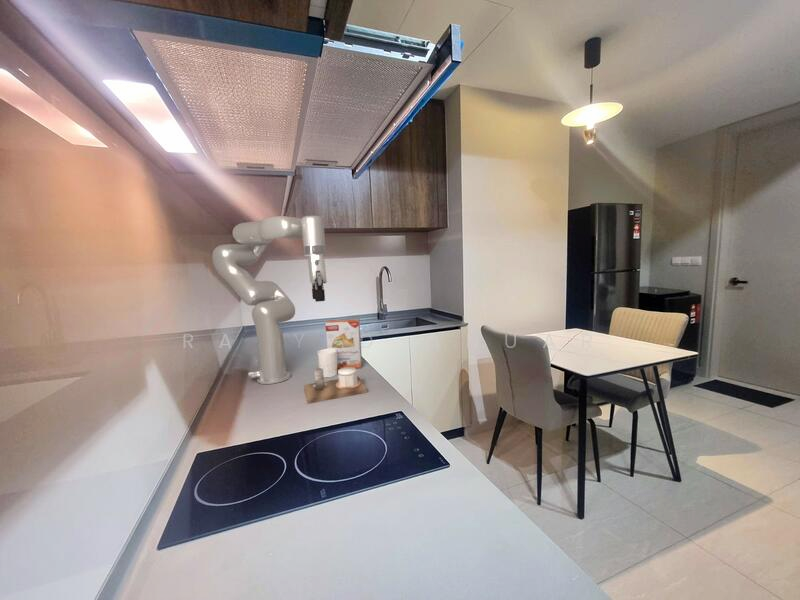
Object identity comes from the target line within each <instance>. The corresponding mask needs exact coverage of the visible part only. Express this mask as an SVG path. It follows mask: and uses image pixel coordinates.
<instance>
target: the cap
mask: <svg viewBox="0 0 800 600" xmlns="http://www.w3.org/2000/svg"><path fill="white" fill-rule="evenodd" d="M357 371H358V370H357V369H356V368H354V367H345V368H341V369H337V377H338V378H337V379H338V380H339V385H340V386H342V387H350V386H354V385H356V384H357V383H358V382H357V376H358V372H357Z"/></svg>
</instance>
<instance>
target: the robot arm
mask: <svg viewBox="0 0 800 600" xmlns="http://www.w3.org/2000/svg"><path fill="white" fill-rule="evenodd" d="M232 237H233V238H234V240H235V241H236V242H237V243H238V244H236V243H235V244H232V243H231V244H230V243H228V244H221V245H217V247H215V248H214V250H213V251H212V255H211V257H212V263H213V267H214V268H215V270H216V272H217V273H218V274H219V275H220V276H221V277H222V279H224V281H226V282H227V283H228V284H229V285H230V286H231V287H232V290H233V291H234V292H235V293H236V294H237V295H238V297H239V298H240V299H241V301H242V302H244V303H245V304H246V305H247V306H253V308H252V309H251V310H252V311H251V319H252V321H253V324H254V328H255V333H256V339H257V348H258V356H259V357H258V360H259V369H257V370H256V371H249V372H248V377H249V378H251V379H254V378H257V379H256V380H257V383H258V384H261V385H273V384H278V383H281V382H286V381H287V380H289V379H290V378H291V376H292V375H291V372H290V371H287V366H286V365H287V364H286V363H287V362H286V357H285V354H286V353H285V344H284V343H285V342H284V335H283V331H282V329H281V328H280V327H279V324H280V323H284V322H287V321H290V320H292V319H293V318H294V317H295V315H296V307H295V304H294V303H293V302H292V300H291V298H289V296H288V295H287V294H286V293H285V292H284V290H283V289H282V287H280V286H279V284H277V283H275V282H274V281H271V280H262V281H261V280H260V281H259V280H256V279H255V278H254V277H253V276H252V275H251V274H250V273H249V272H248V271H247V270H246V269H244V268H242V267H241V266H246V265H247V266H248V265H249V266H250V265H253V264H256V263H257V261H259V259H260V257H262V254H263V253H264V252H265V250H266V249H267V247H268V245H269V244H270V243H272V242H273V241H274V240H275V239H276V240H277V239H291V240H302V246H303V256H304V257H305V258H306V257H307V265H308V273H309V280H310V281H309V282H310V283H311V293H312V299H313V300H315V302H316V303H317V302H324V301H325V300H326V297H325V294H326V293H325V289H324V288H325V287H324V284H327V283H328V281H327V280H328V279H327V274H326V273H327V272H326V265H325V257H326V256H327V252H326V249H327V248H326V238H325V237H326V235H325V224H324V219H323V217H322V216H319V215H306V216H303V217H301V218H299V217H293V216H285V215H278V216H277V215H276V216H269V217H268V216H267V217H264V218H263V219H262V220H256V221H247V222H241V223H238V224H236V225H235V226H234V227H233V229H232Z"/></svg>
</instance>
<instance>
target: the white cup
mask: <svg viewBox="0 0 800 600" xmlns="http://www.w3.org/2000/svg"><path fill="white" fill-rule="evenodd" d="M316 354H317V355H316V356H317V360H318V361H317V362H318V363H317V364H318V369H319V368H321V369H323V376H324V378H325V379H326V377H329V378H333V377H336V376H338V369H337V350H336V349H327V348H323V349H320V350H317V353H316ZM335 375H336V376H335Z"/></svg>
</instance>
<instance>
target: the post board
mask: <svg viewBox="0 0 800 600" xmlns="http://www.w3.org/2000/svg"><path fill="white" fill-rule="evenodd" d="M313 371H314V372H313V373H314V374H313V375H314V382H313V383H307V384H303V389H304V395H305V400H306V404H307V405H308V404H314V403H315V404H316V403H318V402H319V403H320V402H325V401H329V400H331V401H332V400H335V399H341V398H346V397H350V396H355V395H362V394H367V393H368V388H367V386H366V385H365V384H364V383H363V380H361V379H360V377H359V376H358V375H357V382H358V383H357V384H356V385H354V386H350V387H342V386H340V385H339V380H338V378H337V379H331V380H327V381H326V380H325V379H324V376H323V369H321V368H319V367H318V368H316V369H315V368H314V370H313Z"/></svg>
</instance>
